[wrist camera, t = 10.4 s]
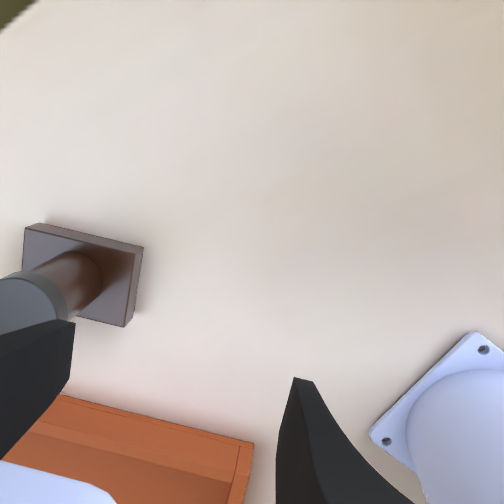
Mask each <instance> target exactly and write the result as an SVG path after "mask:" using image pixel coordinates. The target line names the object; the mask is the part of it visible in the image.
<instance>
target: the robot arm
mask: <svg viewBox="0 0 504 504" xmlns="http://www.w3.org/2000/svg"><path fill="white" fill-rule="evenodd" d="M75 326H76V323H73V322H69V321H65V320H61V319H54V320H49V321H46V322H42V323H38V324H35V325H32V326H29V327H25V328H22V329H19V330H16V331H12V332H9V333H6V334H2V335H0V504H117V503H116V502H115V501H114V499H113V498H112V497H111V496H110V494H109V493H108V492H106V491H104V490H102V489H100V488H98V487H96V486H94V485H92V484H90V483H86V482H82V481H78V480H74V479H70V478H67V477H63V476H59V475H55V474H51V473H48V472H44V471H40V470H36V469H32V468H28V467H25V466H21V465H17V464H13V463H9V462H5V461H2V458H3V457H4V456H5V455H6V454H7V453H8V452H9V451H10V450H11V448H12V447H13V446H14V445H15V444H16V443H17V442H18V441H19V440H20V439H21V437H22V436H23V435H24V434H25V433H26V432H27V431H28V430H29V429H30V428H31V427H32V425H33V424H34V423H35V422H36V421H37V420H38V419H39V418H40V417H41V416H42V414H43V413H44V412H45V411H46V410H47V409H48V408H49V407H50V405H51V404H52V403H53V402H54V400H55V399H56V397H57V396H58V395H59V393H60V392H61V390H62V389H63V387H64V386H65V384H66V383H67V381H68V380H69V377H70V368H71V360H72V351H73V343H74V334H75ZM482 345H486V348H485V350H483V351H478V349H479V347H480V346H482ZM369 435H370V439H371V440H372V441H373V442H374V443H375V444H377V445H378V446H379V447H381V448H382V449H383V450H385V451H386V452H387V453H389V454H390V455H391V456H393V457H394V458H395V459H397V460H398V461H399V462H401V463H402V464H403V465H405V466H406V467H408V468H409V469H410V470H412V471H413V472H414V473H416V474H417V475H418V478H419V481H420V484H421V487H422V490H423V493H424V496H425V499H426V501H427V504H504V352H503V351H502V350H501V349H499V348H498V347H497V346H495V345H494V344H493V343H492V342H490V341H489V340H488V339H487V338H485V337H484V336H483V335H481V334H480V333H478V332H470V333H468V334H467V335H465V336H464V337H463V338H462V339H461V340H460V341H459V342H458V343H457V344H456V345H455V346H454V347H453V348H452V349H451V350H450V351H449V352H448V353H447V354H446V355H445V356H444V357H443V358H442V359H441V360H440V361H439V362H437V363H436V364H435V365H434V366H433V367H432V368H431V369H430V370H429V371H428V372H427V373H426V374H425V375H424V376H423V377H422V378H421V379H420V380H419V381H418V382H417V383H416V384H415V385H414V386H413V387H412V388H411V389H410V390H409V391H408V392H407V393H406V394H405V395H403V396H402V397H401V398H400V399H399V400H398V401H397V402H396V403H395V404H394V405H393V406H392V407H391V408H390V409H389V410H388V411H387V412H386V413H385V414H384V415H383V416H382V417H381V418H380V419H379V420H378V421H377V422H376V423H375V424H374V425H373V426H372V427H371V428H370V429H369ZM383 438H390V439H389V440H388V441H383V440H382V439H383ZM276 504H414V503H413V502H412V501H411V500H409V499H408V498H407V497H405V496H404V495H403V494H402V493H400V492H399V491H398V490H397V489H396V488H394V487H393V486H392V485H391V484H390V483H389V482H388V481H386V480H385V479H384V478H383V477H382V476H381V475H380V474H379V473H378V472H377V471H376V470H375V469H374V468H373V467H372V466H371V465H370V464H369V463H368V462H367V461H366V460H365V459H364V457H363V456H362V455H361V454H360V453H359V452H358V451H357V450H356V448H355V447H354V446H353V445H352V443H351V442H350V441H349V439H348V438H347V437H346V435H345V434H344V433H343V431H342V430H341V429H340V427H339V426H338V424H337V423H336V421H335V419H334V418H333V416H332V415H331V413H330V411H329V410H328V408H327V406H326V404H325V403H324V401H323V399H322V397H321V395H320V393H319V392H318V390H317V388H316V386H315V384H314V383H313V382H312V381H308V380H304V379H300V378H296V377H294V379H293V383H292V386H291V390H290V394H289V397H288V401H287V405H286V408H285V412H284V415H283V419H282V423H281V426H280V430H279V437H278V445H277V453H276Z"/></svg>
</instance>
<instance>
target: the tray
mask: <svg viewBox="0 0 504 504" xmlns="http://www.w3.org/2000/svg"><path fill="white" fill-rule="evenodd" d="M253 450H254V444H253V443H249V442H245V441H241V440H237V439H233V438H229V437H225V436H221V435H218V434H214V433H210V432H206V431H202V430H198V429H194V428H190V427H186V426H182V425H178V424H174V423H170V422H166V421H162V420H158V419H155V418H151V417H147V416H143V415H139V414H135V413H131V412H127V411H123V410H119V409H115V408H111V407H107V406H103V405H99V404H95V403H92V402H88V401H84V400H80V399H76V398H72V397H68V396H64V395H60V394H59V395H58V396H57V397H56V399H55V400H54V402H53V403H52V404H51V405H50V407H49V408H48V409H47V410H46V411H45V412H44V413H43V414H42V416H41V417H40V418H39V419H38V420H37V421H36V422H35V423H34V424H33V425H32V427H31V428H30V429H29V430H28V431H27V432H26V433H25V434H24V435H23V436H22V437H21V439H20V440H19V441H18V442H17V443H16V444H15V445H14V446H13V447H12V448H11V450H10V451H9V452H8V453H7V454H6V455H5V456H4V457H3V458H2V461H5V462H9V463H13V464H17V465H21V466H25V467H28V468H32V469H36V470H40V471H44V472H48V473H51V474H55V475H59V476H63V477H67V478H70V479H74V480H78V481H82V482H86V483H90V484H92V485H94V486H96V487H98V488H100V489H102V490H104V491H106V492H108V493H109V494H110V496H111V497H112V498H113V499H114V501H115V502H116V503H117V504H242V503H243V499H244V496H245V492H246V488H247V484H248V480H249V476H250V470H251V463H252V456H253Z"/></svg>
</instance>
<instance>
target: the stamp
mask: <svg viewBox="0 0 504 504" xmlns="http://www.w3.org/2000/svg"><path fill="white" fill-rule="evenodd" d="M143 249H144V247H140V246H136V245H132V244H128V243H124V242H119V241H115V240H111V239H107V238H103V237H98V236H94V235H90V234H86V233H82V232H77V231H73V230H69V229H65V228H61V227H57V226H52V225H48V224H43V223H37V224H34V225H31V226H28V227H25V231H24V244H23V257H22V270H21V271H20V272H15V273H12V274H10V275H8V276H6V277H4V278H2V279H0V335H2V334H6V333H9V332H12V331H16V330H19V329H22V328H25V327H29V326H32V325H35V324H38V323H42V322H46V321H49V320H54V319H61V320H65V321H70V320H71V319H72V318H73V317H75V316H79V317H83V318H87V319H91V320H95V321H99V322H103V323H107V324H111V325H115V326H119V327H125V326H126V325H127V324H128V323H129V321H130V320H131V319H132V318H133V314H134V307H135V301H136V294H137V288H138V281H139V275H140V269H141V262H142V256H143Z"/></svg>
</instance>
